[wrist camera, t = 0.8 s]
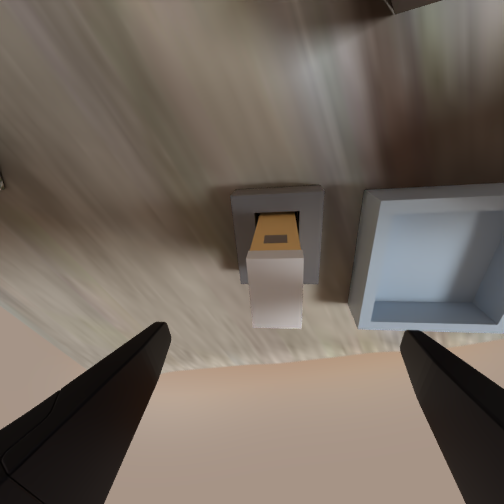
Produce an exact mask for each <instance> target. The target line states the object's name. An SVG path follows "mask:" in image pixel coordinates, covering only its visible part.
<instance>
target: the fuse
mask: <svg viewBox="0 0 504 504" xmlns="http://www.w3.org/2000/svg"><path fill="white" fill-rule="evenodd" d="M246 264H247V273H248V283H249V293H250V303H251V313H252V322H253V327H254V328H288V329H302V304H303V270H304V256H303V251H302V250H301V247H300V241H299V235H298V230H297V224H296V218H295V212H294V211H287V212H262V213H260V215H259V219H258V222H257V226H256V230H255V233H254V237H253V241H252V244H251V248H250V251H248V254H247V257H246Z"/></svg>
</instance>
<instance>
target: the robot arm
mask: <svg viewBox="0 0 504 504" xmlns="http://www.w3.org/2000/svg"><path fill="white" fill-rule="evenodd" d="M170 343H171V334H170V331H169V328H168V325H167V323H166V322H155V323H153V324H152V325H150V326H149V327H148V328H146V329H145V330H143V331H142V332H140V333H139V334H138V335H136V336H135V337H133V338H132V339H131V340H129V341H128V342H126V343H125V344H124V345H122V346H121V347H119V348H118V349H117V350H115V351H114V352H112V353H111V354H109V355H108V356H107V357H105V358H104V359H102V360H101V361H100V362H98V363H97V364H95V365H94V366H93V367H91V368H90V369H88V370H87V371H85V372H84V373H83V374H81V375H80V376H78V377H77V378H76V379H74V380H73V381H71V382H70V383H69V384H67V385H66V386H64V387H63V388H62V389H61V390H59V391H57V392H56V393H54V394H53V395H52V396H50V397H49V398H47V399H46V400H44V401H43V402H42V403H40V404H39V405H37V406H36V407H34V408H33V409H31V410H30V411H28V412H27V413H26V414H24V415H23V416H21V417H19V418H18V419H16V420H15V421H13V422H12V423H11V424H9V425H7V426H6V427H4V428H3V429H1V430H0V504H104V502H105V500H106V498H107V495H108V493H109V491H110V489H111V486H112V484H113V482H114V480H115V477H116V475H117V473H118V470H119V468H120V466H121V464H122V461H123V459H124V457H125V455H126V452H127V450H128V448H129V446H130V443H131V441H132V439H133V436H134V434H135V432H136V430H137V427H138V425H139V423H140V420H141V418H142V416H143V414H144V411H145V409H146V407H147V404H148V402H149V400H150V397H151V395H152V393H153V391H154V389H155V386H156V384H157V381H158V379H159V376H160V373H161V370H162V367H163V364H164V361H165V358H166V355H167V352H168V349H169V346H170ZM400 351H401V354H402V357H403V360H404V363H405V366H406V368H407V371H408V374H409V377H410V380H411V383H412V386H413V388H414V391H415V394H416V397H417V399H418V401H419V404H420V406H421V408H422V410H423V412H424V414H425V417H426V419H427V421H428V423H429V425H430V427H431V430H432V432H433V434H434V436H435V438H436V440H437V443H438V445H439V447H440V449H441V451H442V453H443V456H444V458H445V460H446V462H447V464H448V466H449V468H450V470H451V473H452V475H453V477H454V479H455V481H456V483H457V485H458V488H459V490H460V492H461V494H462V496H463V499H464V501H465V503H466V504H504V389H503V388H501V387H500V386H499V385H497V384H496V383H494V382H493V381H492V380H490V379H489V378H487V377H486V376H484V375H483V374H481V373H480V372H478V371H477V370H476V369H474V368H473V367H471V366H470V365H469V364H467V363H466V362H464V361H463V360H462V359H460V358H459V357H457V356H456V355H454V354H453V353H452V352H450V351H449V350H447V349H446V348H445V347H443V346H442V345H440V344H439V343H437V342H436V341H435V340H433V339H432V338H430V337H429V336H427V335H426V334H425V333H423V332H422V331H420V330H406V331H405V332H404V335H403V338H402V342H401V345H400Z"/></svg>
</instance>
